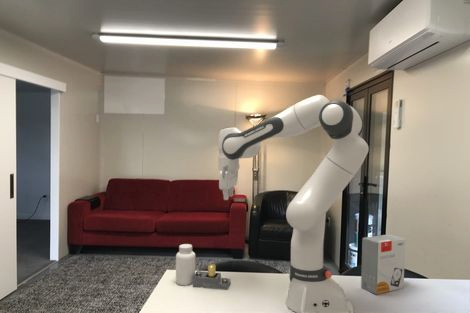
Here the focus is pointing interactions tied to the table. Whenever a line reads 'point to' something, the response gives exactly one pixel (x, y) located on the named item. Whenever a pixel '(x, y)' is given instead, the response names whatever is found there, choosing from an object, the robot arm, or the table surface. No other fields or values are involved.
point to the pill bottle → (185, 265)
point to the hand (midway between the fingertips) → (228, 198)
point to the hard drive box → (382, 263)
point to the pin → (211, 270)
